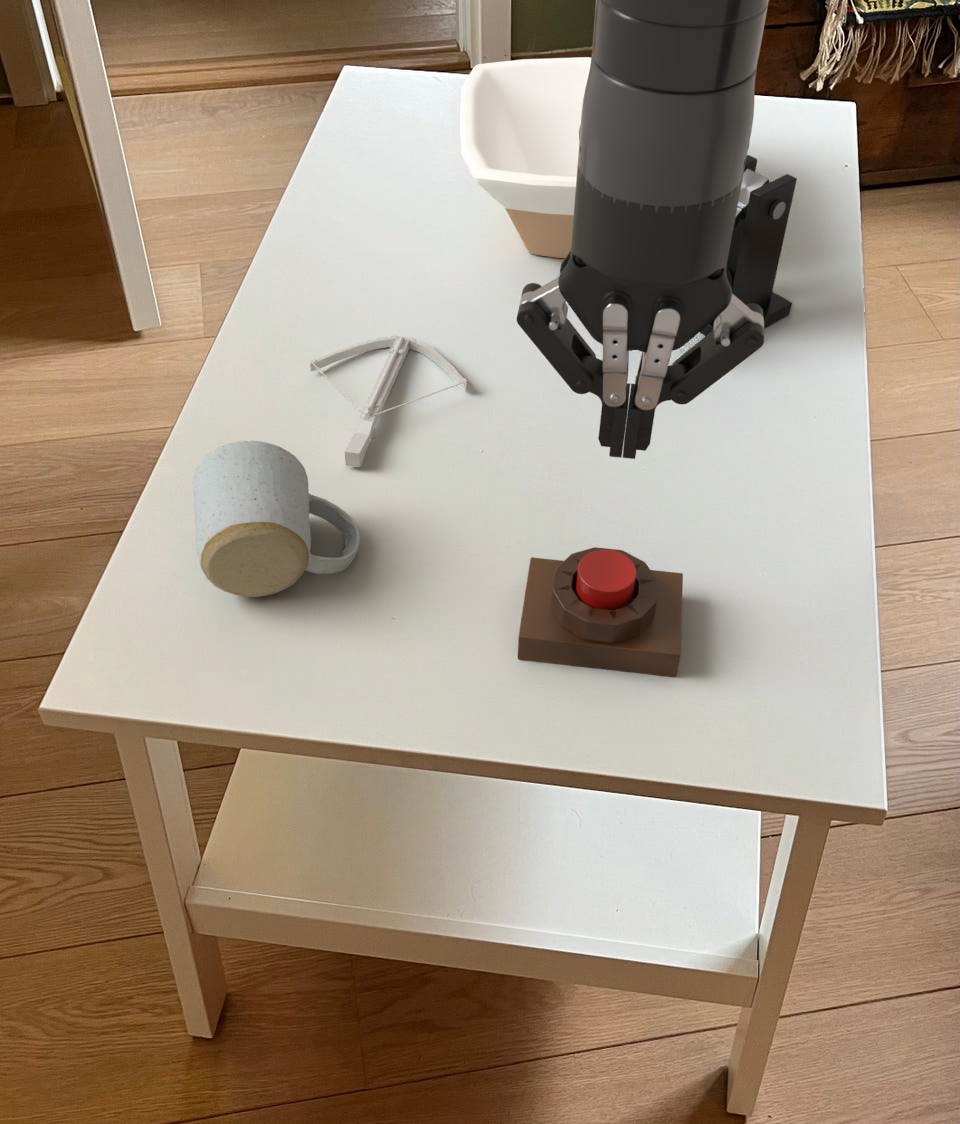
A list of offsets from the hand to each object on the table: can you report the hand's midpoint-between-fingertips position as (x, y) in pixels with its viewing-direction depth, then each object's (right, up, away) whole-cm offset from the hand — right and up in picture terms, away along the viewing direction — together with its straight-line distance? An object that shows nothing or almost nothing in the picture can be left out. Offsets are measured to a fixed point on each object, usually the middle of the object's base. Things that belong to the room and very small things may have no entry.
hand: (623, 448), depth 66 cm
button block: (0, -11, +11) cm, 15 cm away
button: (0, -8, +8) cm, 11 cm away
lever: (+11, +18, +29) cm, 36 cm away
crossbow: (-16, +6, +27) cm, 32 cm away
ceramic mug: (-22, -6, +15) cm, 27 cm away
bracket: (+13, +15, +36) cm, 41 cm away
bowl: (+2, +25, +46) cm, 52 cm away
